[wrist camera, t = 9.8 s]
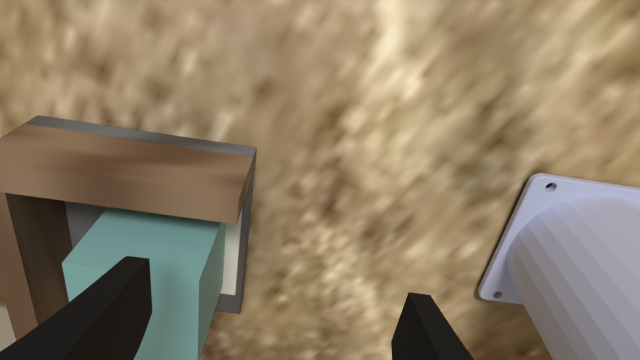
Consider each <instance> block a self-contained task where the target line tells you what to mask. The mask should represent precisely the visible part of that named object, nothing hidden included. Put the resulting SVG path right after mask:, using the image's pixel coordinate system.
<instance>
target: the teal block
mask: <svg viewBox="0 0 640 360" xmlns="http://www.w3.org/2000/svg"><path fill="white" fill-rule="evenodd" d="M225 234H226V223H223V222H216V221H208V220H201V219H194V218H186V217H179V216H172V215H164V214H157V213H150V212H142V211H135V210H128V209H121V208H113V207H108V208H107V209H106V210H105V211H104V213H103V214H102V215H101V216H100V217H99V219H98V220H97V221H96V222H95V223H94V225H93V226H92V227H91V228H90V230H89V231H88V232H87V233H86V234H85V236H84V237H83V238H82V239H81V240H80V242H79V243H78V244H77V245H76V247H75V248H74V249H73V250H72V251H71V253H70V254H69V255H68V256H67V257H66V259H65V260H64V261H63V262H62V267H63V272H64V278H65V283H66V288H67V293H68V299H69V302H70V301H71V300H73V299H74V298H75V297H76V296H78V295H79V294H80V293H82V292H83V291H84V290H85V289H86V288H88V287H89V286H90V285H91V284H93V283H94V282H95V281H96V280H97V279H99V278H100V277H101V276H102V275H103V274H105V273H106V272H107V271H108V270H109V269H111V268H112V267H113V266H114V265H115V264H117V263H118V262H119V261H120V260H121V259H123V258H124V257H126V256H133V257H141V258H149V259H150V277H151V295H152V315H151V318H150V320H149V323H148V326H147V329H146V332H145V334H144V337H143V340H142V342H141V345H140V347H139V350H138V352H137V354H136V356H135V358H134V359H135V360H200V357H201V354H202V350H203V347H204V344H205V341H206V337H207V334H208V331H209V328H210V324H211V321H212V318H213V315H214V311H215V308H216V305H217V302H218V298H219V295H220V292H221V288H222V285H223V270H224V252H225Z"/></svg>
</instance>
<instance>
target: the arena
mask: <svg viewBox="0 0 640 360" xmlns="http://www.w3.org/2000/svg"><path fill="white" fill-rule="evenodd" d="M255 158H256V148H254V147H247V146H240V145H234V144H227V143H220V142H213V141H207V140H200V139H193V138H186V137H180V136H173V135H166V134H159V133H153V132H146V131H139V130H132V129H126V128H119V127H112V126H105V125H99V124H92V123H85V122H78V121H72V120H65V119H58V118H51V117H45V116H36V117H34V118H33V119H31V120H29V121H28V122H26V123H24V124H23V125H21V126H19V127H18V128H16V129H14V130H13V131H11V132H9V133H8V134H6V135H5V136H3V137H1V138H0V286H1V290H2V293H3V296H4V300H5V303H6V307H7V310H8V313H9V317H10V320H11V324H12V327H13V331H14V334H15V337H16V341H17V340H19V339H20V338H21V337H23V336H24V335H26V334H27V333H28V332H30V331H31V330H33V329H34V328H35V327H37V326H38V325H40V324H41V323H42V322H44V321H45V320H46V319H48V318H49V317H51V316H52V315H53V314H55V313H56V312H57V311H59V310H60V309H61V308H62V307H64V306H65V305H66V304H68V303H69V299H68V293H67V288H66V283H65V278H64V272H63V267H62V262H63V261H64V260H65V259H66V257H67V256H68V255H69V254H70V253H71V251H72V250H73V249H74V248H75V247H76V245H77V244H78V243H79V242H80V240H81V239H82V238H83V237H84V236H85V234H86V233H87V232H88V231H89V230H90V228H91V227H92V226H93V225H94V223H95V222H96V221H97V220H98V219H99V217H100V216H101V215H102V214H103V213H104V211H105V210H106V209H107V208H108V207H113V208H121V209H128V210H135V211H142V212H150V213H157V214H164V215H172V216H179V217H186V218H194V219H201V220H208V221H216V222H223V223H226V234H225V252H224V270H223V285H222V288H221V292H220V295H219V298H218V302H217V305H216V308H215V311H221V312H229V313H237V314H240V309H241V305H242V301H243V291H244V280H245V268H246V257H247V246H248V235H249V224H250V213H251V202H252V191H253V180H254V169H255Z"/></svg>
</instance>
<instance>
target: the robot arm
mask: <svg viewBox="0 0 640 360" xmlns="http://www.w3.org/2000/svg"><path fill="white" fill-rule="evenodd" d="M549 183H553V184H552V185H551V187H549V188H545V187H546V186H547V184H549ZM495 292H498V293H495ZM478 293H479V295H480V297H481V298H482V299H485V300H491V301H499V302H506V303H514V304H522V305H524V307H525V309H526V311H527V312H528V314H529V316H530V318H531V320H532V322H533V324H534V326H535V327H536V329H537V331H538V333H539V335H540V337H541V339H542V341H543V342H544V344H545V346H546V348H547V350H548V352H549V354H550V356H551V357H552V359H553V360H640V188H636V187H629V186H623V185H616V184H610V183H603V182H596V181H590V180H583V179H576V178H570V177H563V176H556V175H550V174H543V173H538V174H535V175H533V176H531V177H530V178H529V180H528V181H527V184H526V186H525V188H524V190H523V192H522V194H521V197H520V199H519V201H518V203H517V205H516V207H515V210H514V212H513V214H512V216H511V218H510V220H509V223H508V225H507V227H506V229H505V231H504V234H503V236H502V238H501V240H500V242H499V244H498V247H497V249H496V251H495V253H494V255H493V257H492V260H491V262H490V264H489V266H488V268H487V270H486V273H485V275H484V277H483V279H482V281H481V284H480V286H479V288H478ZM151 315H152V295H151V277H150V259H149V258H141V257H133V256H126V257H124V258H123V259H121V260H120V261H119V262H118V263H117V264H115V265H114V266H113V267H112V268H111V269H109V270H108V271H107V272H106V273H105V274H103V275H102V276H101V277H100V278H99V279H97V280H96V281H95V282H94V283H93V284H91V285H90V286H89V287H88V288H86V289H85V290H84V291H83V292H82V293H80V294H79V295H78V296H76V297H75V298H74V299H73V300H71V301H70V302H69V303H68V304H66V305H65V306H64V307H62V308H61V309H60V310H59V311H57V312H56V313H55V314H53V315H52V316H51V317H49V318H48V319H46V320H45V321H44V322H42V323H41V324H40V325H38V326H37V327H35V328H34V329H33V330H31V331H30V332H28V333H27V334H26V335H24V336H23V337H21V338H20V339H19V340H17V341H16V342H14V343H13V344H11V345H10V346H8V347H7V348H5V349H4V350H2V351H1V352H0V360H134V358H135V356H136V354H137V352H138V350H139V347H140V345H141V342H142V340H143V337H144V334H145V332H146V329H147V326H148V323H149V320H150V318H151ZM391 344H392V360H474V359H473V358H472V356H471V355H470V353H469V352H468V351H467V349H466V348H465V346H464V345H463V344H462V342H461V341H460V339H459V338H458V336H457V335H456V333H455V332H454V330H453V329H452V327H451V326H450V324H449V323H448V321H447V320H446V318H445V317H444V315H443V314H442V312H441V311H440V309H439V308H438V306H437V305H436V303H435V302H434V300H433V299H432V297H431V296H430V295H425V294H418V293H410V292H409V293H408V296H407V299H406V301H405V304H404V307H403V310H402V313H401V316H400V318H399V321H398V324H397V327H396V330H395V333H394V336H393V338H392V341H391Z"/></svg>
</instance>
